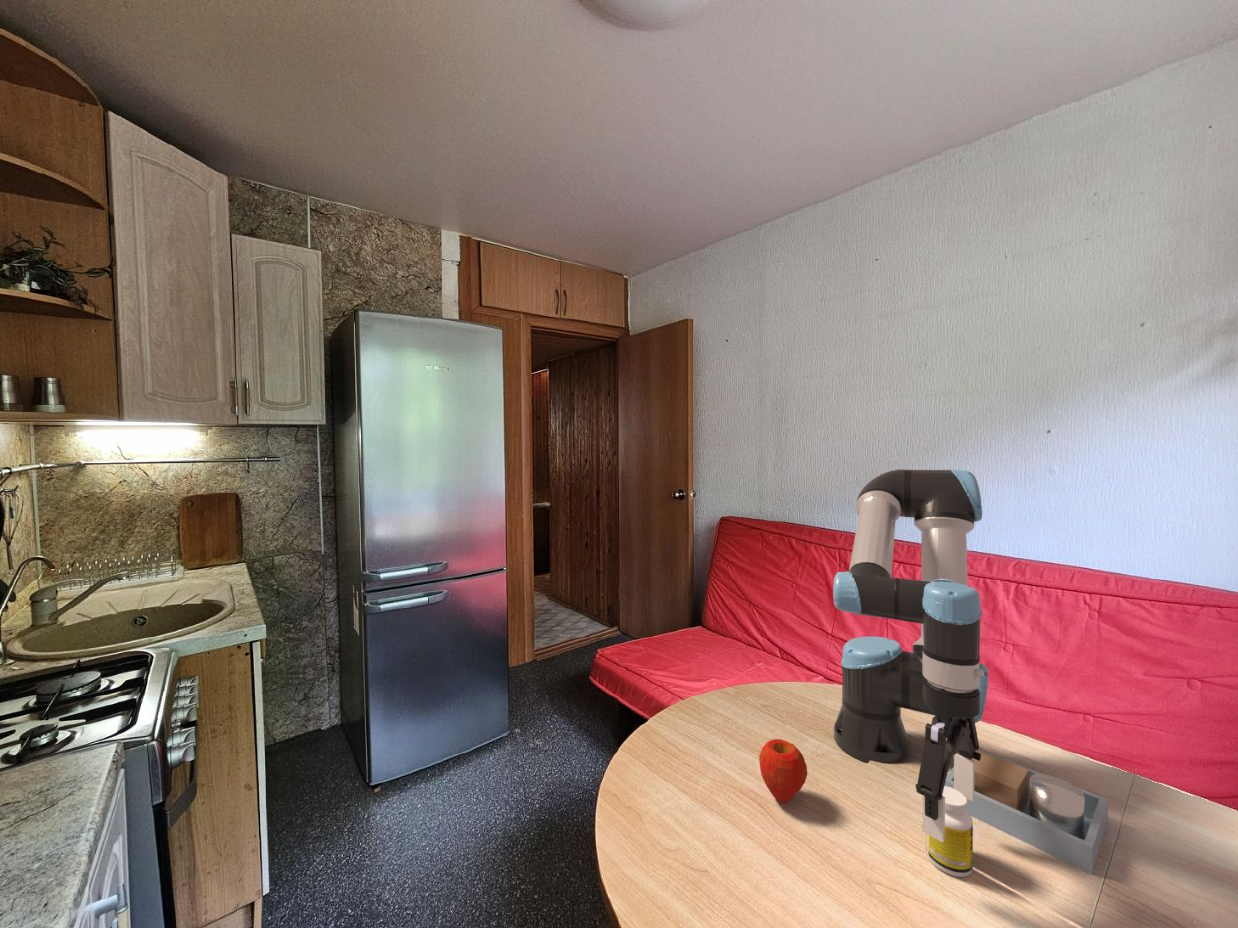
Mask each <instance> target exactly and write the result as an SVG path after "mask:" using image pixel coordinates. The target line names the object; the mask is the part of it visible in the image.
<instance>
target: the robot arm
mask: <svg viewBox="0 0 1238 928" xmlns="http://www.w3.org/2000/svg"><path fill="white" fill-rule="evenodd" d="M855 510H856V513H857V516H858V519H857V524H856V529H855V536H854V540H853V546H852V551H851V556H850V563H849V570H847V571H839V572H837V573H836V574H835V575H834V580H833V586H832V587H833V590H832V591H833V593H832V594H833V595H832V597H833V604H834V605H833V606H835V608H836V609H837V610H838V611H841V612H846V613H850V614H855V615H856V616H857V615H858V616H867V617H874V618H881V619H887V620H888V619H889V620H897V621H902V622H908V623H916V624H920V627H921V628H920V637H919V639H917V640H916V641H914V642H913V643H912V651H905V650H903V647H901V644H900V642H898V641H896V640H894V639H890V638H887V637H883V636H874V635H873V636H861V637H860V636H859V637H856V638H852V639H850V640H848V641H847V642H846V643H844V645H843V648H842V658H841V661H840V665H841V666H842V668H841V669H842V670H841V671H842V672H841V675H842V681H841V683H842V684H841V686H842V687H841V691H842V692H841V697H842V698H841V699H842V701H841V707H840V708H839V711H838V714H837V717H836V720H835V722H834V724H833V739H834V741H835V743H836V745H837V747H838V748H840V749H841V750H842V751H843V752H845V753H846V754H847V755H849V756H851V757H852V758H856V759H857V760H860V761H862V762H865V763H869V762H875V763H883V764H893V763H900V762H903V761H904V760H907V759H908V757H909V755H910V754H911V744H910V740H909V737H908V734H907V731H906V728H905V725H904V722H903V719H902V715H901V713H902V712H901V709H906V710H910V711H913V712H917V713H921V714H922V713H923V714H927V715H931V716H933V717H932V720H931V723H928V722H927V723H926V724H925V729H924V731H925V732H924V741H923V742H924V743H923V749H922V757H921V759H920V760H921V761H920V766H919V772H918V779H917V783H915V789H916V793H918V794H919V795H921V796H922V833H924V834H925V835H926V834H928V835H930V836H931V837H933V838H935V839H937V840H939V841H941V842H944V840H945V797H944V796H943V795H942V794H943V790H944V786H945V781H946V777H947V774H948V773H949V768H950V763H951V759H952V756H953V767H954V789H955V790H957V791H959V792H960V793H962V794H963V795H964V796H965V797H966V799H969V800H971V801H973V800H974V766H975V761H974V760H972V758H973V759H976V760H978V761H980V759H981V754H980V753H978V752H975V750H977V751H978V749H980V743H979V738H978V733H977V727H976V724H977V723H979V722H980V721H981V720H982V718H983V715H984V712H985V707H986V702H987V695H988V686H989V667H988V666H987V665H985V664H983V663H981V656H980V653H981V651H980V650H981V649H980V648H981V647H980V646H981V617H982V615H983V610H982V605H981V596H980V592H979V590H977V589H975V587H971V586H970V585H968V583H969V581H968V547H967V534H969V533H970V532H971V531H972V530H974V529H975V523H977V522H979V521H981V520H982V518H983V506H982V496H981V491H980V487H979V483H978V480H977V478H976V476H975V475H974V473H972V472H970V471H968V470H956V469H950V468H948V469H903V468H901V469H894V470H889V471H887V472H883V473H881V474H879V475H877V476H876V477H874V478H873V479H871V480H870V481H868V482H867V483H866V485H865V486H863V488H862V489H861V491H860V492H859V494H858V496H857V499H856V503H855ZM900 517H901V518H914V519H913V525H914V526H915V528H917V529H918V530H919V531H920V532H921V572H920V573H921V579H920V580H919V579H918V580H917V579H908V578H902V577H901V578H900V577H892V575H893V561H894V550H895V549H894V544H895V533H896V531H895V530H896V521H898V519H900ZM958 753H959V754H958Z"/></svg>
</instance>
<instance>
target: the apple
mask: <svg viewBox="0 0 1238 928" xmlns="http://www.w3.org/2000/svg"><path fill="white" fill-rule="evenodd" d="M758 758H759V759H758V761H759V768H760V773H761V774H760V775H761V776H762V779H763V782H764V783H765V786H766V788H767V789H768V790H769V792H770V793H771V795H772V796H773V798H774V799H775V800H776V801H777V802H779V803H781V804H787V803H789V802H790V801H791V800H793V799H794V798H795V796H796V795H797V794H798V793H799V792H800V791H801V789H802V788H803V787H804V784H805V783H806V779H807V777H808V766H807V762H806V760H805V757H804V755H803V754H802V752H801V751H800V749H798V747H797V746H795V744H794V743H792V742H789V741H787V740H784V739H782V738H781V739H779V738H775V739H770V740H769V741H767V742H766V743H765V744H764V745H763V747H762V748H761V750H760V753H759V756H758Z"/></svg>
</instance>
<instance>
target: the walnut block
mask: <svg viewBox="0 0 1238 928" xmlns="http://www.w3.org/2000/svg"><path fill="white" fill-rule="evenodd" d="M975 752H978V753H980V754H981V759H980V761H978V760H976V759H973V758H972V760H974V761H975V766H974V791H976V792H978V793H980V794H983V795H985V796H987V797H989V798H991V799H994V800H996V801H998V802H1000V803H1002V804H1005V805H1007V806H1009V807H1011V808H1014V809H1016V810H1018V811H1020V812H1023V811H1024V809H1025V807H1026V805H1027V803H1028V789H1029V770H1027V769H1025V768H1022V767H1020V766H1017V765H1015V764H1012V763H1010V762H1007V761H1005V760H1002V759H1000V758H997V757H994V756H992V755H989V754H987V753H984V752H982V751H979V750H978V751H977V750H976V751H975Z"/></svg>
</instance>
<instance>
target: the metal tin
mask: <svg viewBox="0 0 1238 928" xmlns="http://www.w3.org/2000/svg"><path fill="white" fill-rule="evenodd" d="M1078 788H1079V787H1078ZM1078 788H1077V786H1076V785H1074V784H1072V783H1071V782H1069V781H1067V780H1066V779H1065V780H1064V779H1063V778H1061V777H1057V776H1055V775H1050V774H1045V773H1042V774H1034V775H1032V776H1031V777H1030V807H1029V816H1031V817H1033V818H1036V819H1038V820H1040V821H1042V822H1045V823H1047V824H1049V825H1051V826H1053V827H1056V828H1058V829H1060V830H1062V831H1064V832H1067V833H1069V834H1071V835H1073V836H1076V837H1078V838H1080V839H1082V840H1084V802H1085V797H1084V794H1083V793H1082V791H1081V790H1080V789H1081V788H1080V789H1078Z"/></svg>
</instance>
